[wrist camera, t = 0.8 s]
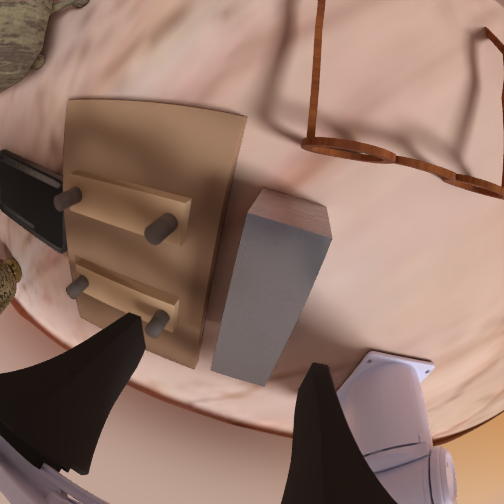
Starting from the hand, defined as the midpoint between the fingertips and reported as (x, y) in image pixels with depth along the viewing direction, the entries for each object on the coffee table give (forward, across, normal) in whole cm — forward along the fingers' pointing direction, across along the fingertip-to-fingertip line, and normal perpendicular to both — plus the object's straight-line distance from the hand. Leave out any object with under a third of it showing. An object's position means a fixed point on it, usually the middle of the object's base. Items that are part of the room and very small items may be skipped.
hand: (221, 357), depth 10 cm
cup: (+10, +33, +11) cm, 36 cm away
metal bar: (+9, -1, +2) cm, 10 cm away
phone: (+10, +25, 0) cm, 27 cm away
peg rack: (+9, +10, +2) cm, 14 cm away
